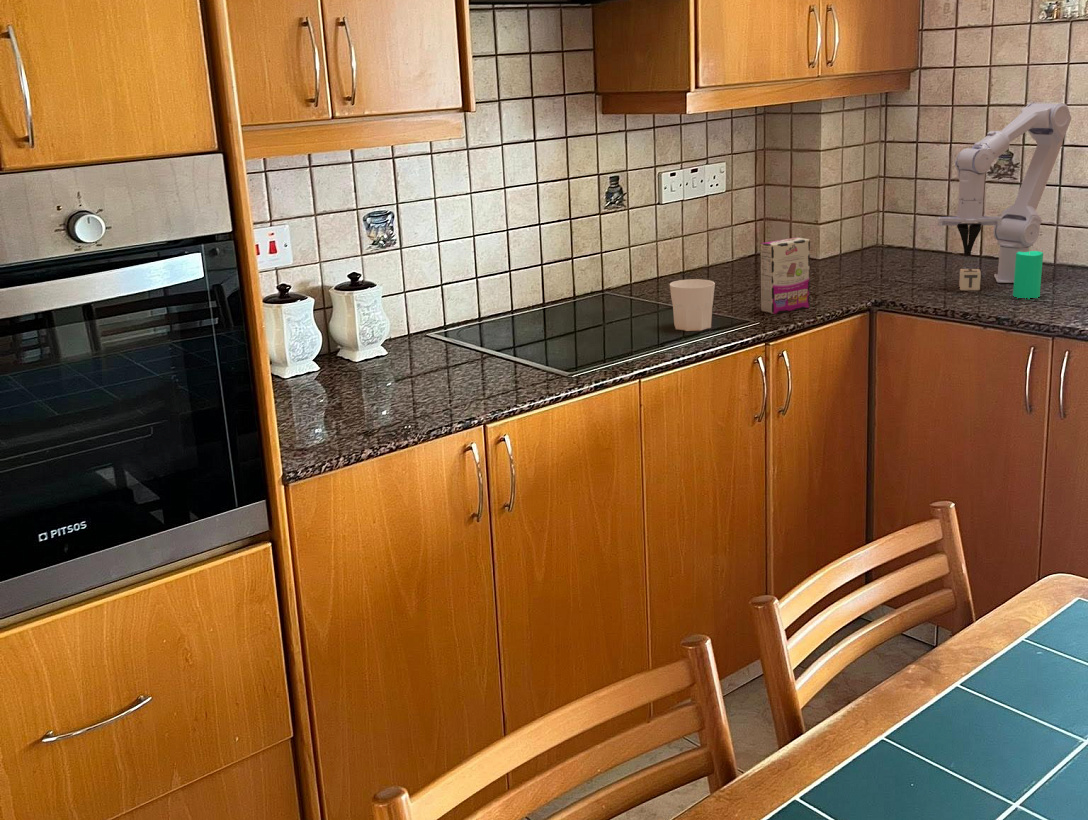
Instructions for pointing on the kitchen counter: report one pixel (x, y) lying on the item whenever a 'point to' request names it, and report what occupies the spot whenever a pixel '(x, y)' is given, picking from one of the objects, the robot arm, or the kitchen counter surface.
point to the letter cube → (969, 279)
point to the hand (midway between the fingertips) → (967, 255)
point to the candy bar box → (785, 275)
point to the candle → (1028, 274)
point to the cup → (692, 304)
